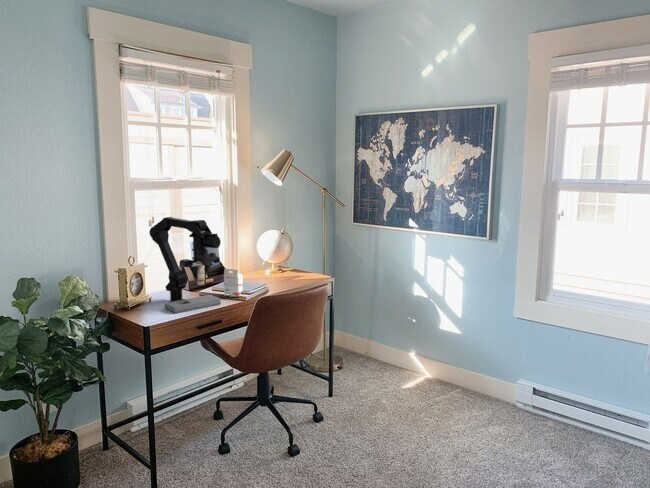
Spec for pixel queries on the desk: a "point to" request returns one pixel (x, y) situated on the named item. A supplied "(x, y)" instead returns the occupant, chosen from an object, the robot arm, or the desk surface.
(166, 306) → the board
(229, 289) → the ink cartridge box
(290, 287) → the desk surface
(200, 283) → the beech peg
